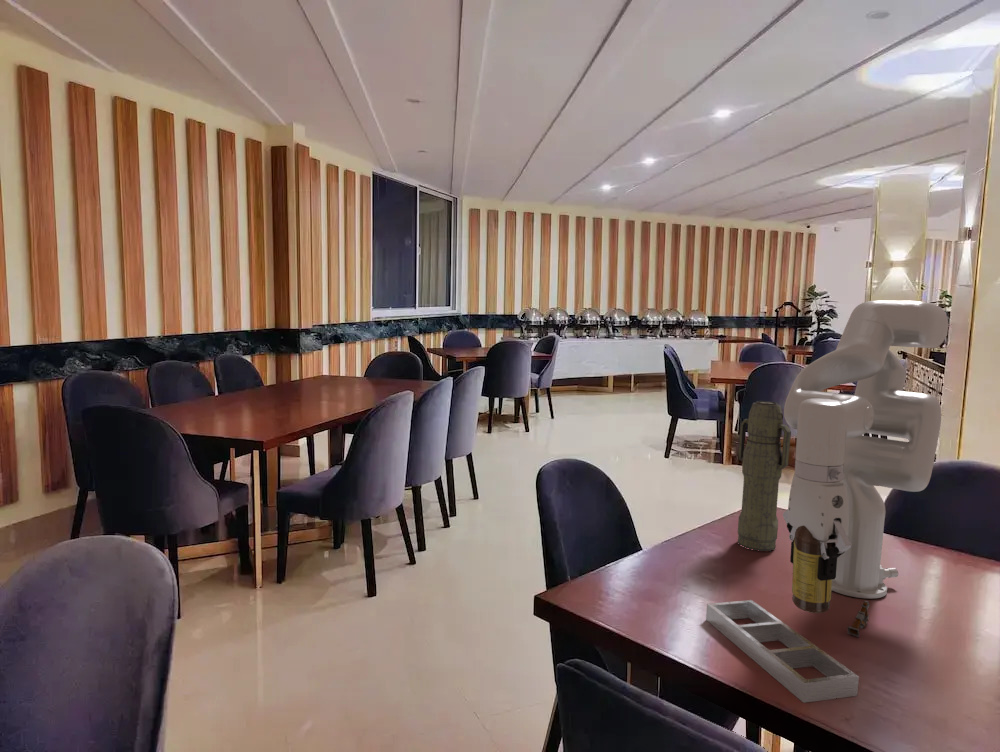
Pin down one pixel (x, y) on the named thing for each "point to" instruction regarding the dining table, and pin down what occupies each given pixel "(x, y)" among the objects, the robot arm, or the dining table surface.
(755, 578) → the dining table surface
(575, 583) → the dining table surface
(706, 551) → the dining table surface
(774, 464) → the thermos
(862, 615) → the wooden post with brackets
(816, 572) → the sauce bottle
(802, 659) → the rack with square compartments
